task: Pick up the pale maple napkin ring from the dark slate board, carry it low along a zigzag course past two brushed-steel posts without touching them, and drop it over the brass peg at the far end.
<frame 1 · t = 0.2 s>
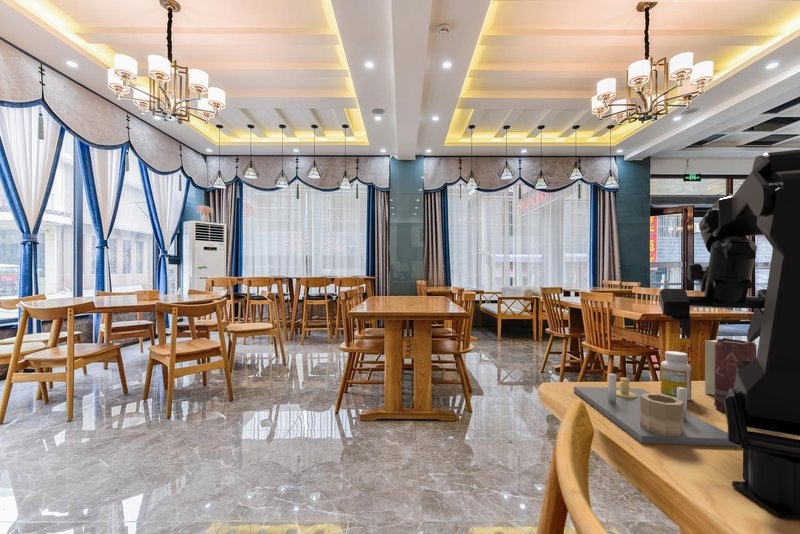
hand: (717, 338, 71), 15 cm above the table, tool tilted 30°, fingers open, 9 cm apart
skincare box: (724, 396, 83), on the table
supplement bottle: (675, 397, 81), on the table
slate board: (641, 414, 71), on the table
can: (735, 412, 73), on the table
napkin ring: (661, 428, 61), point 1 cm above the table, touching slate board
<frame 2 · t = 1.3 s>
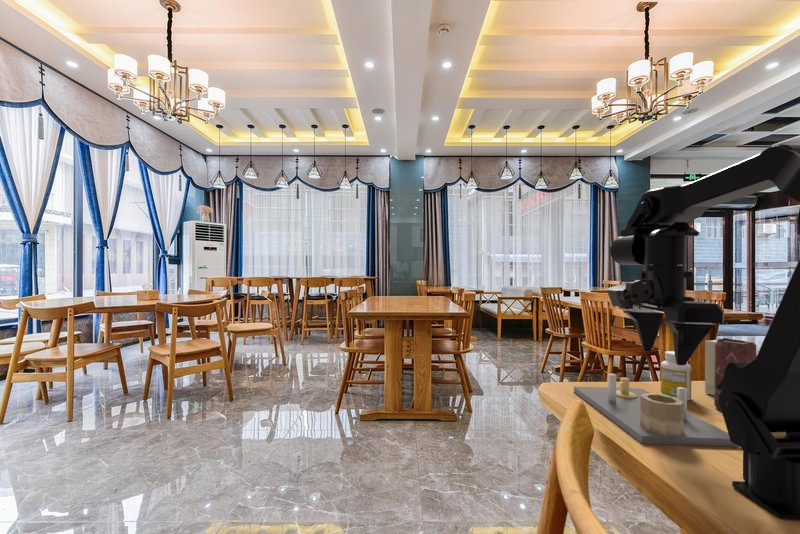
hand: (662, 357, 62), 13 cm above the table, tool pointing down, fingers open, 9 cm apart
nothing on the table moved.
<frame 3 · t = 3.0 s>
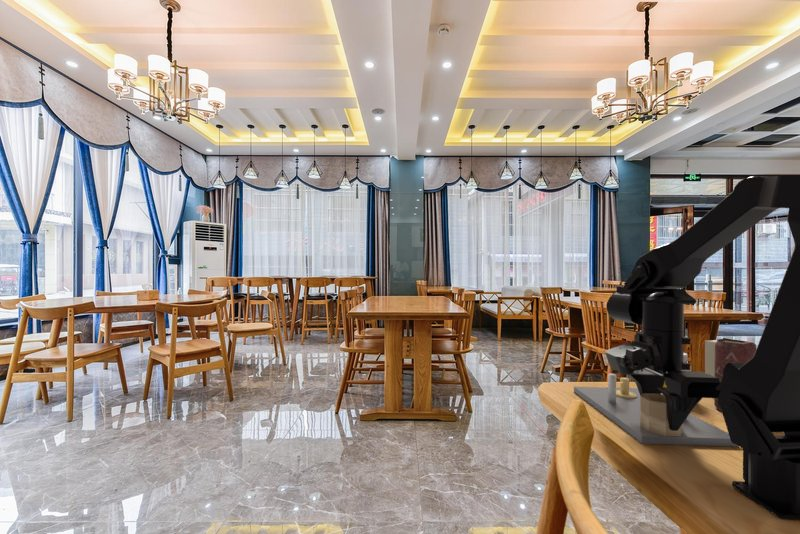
hand: (661, 422, 61), 2 cm above the table, tool pointing down, fingers closed on napkin ring, 5 cm apart
napkin ring: (661, 428, 61), point 1 cm above the table, touching gripper, slate board
everything else where it was.
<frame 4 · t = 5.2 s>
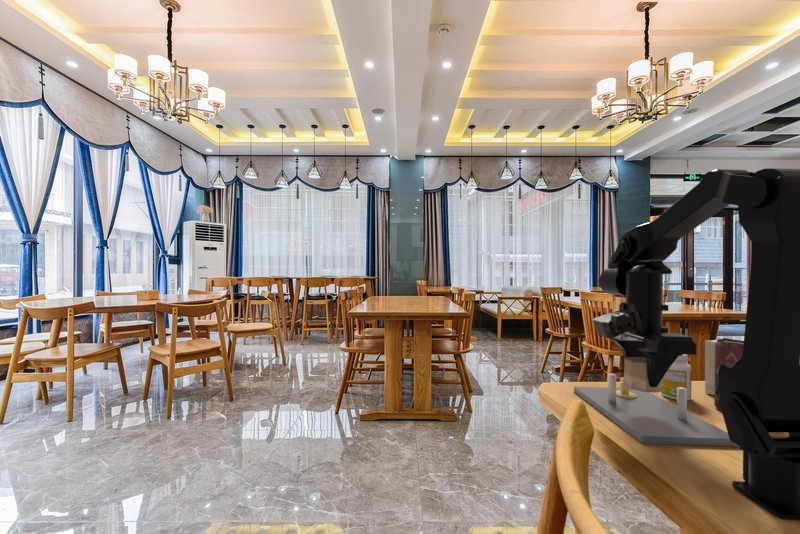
hand: (642, 382, 68), 7 cm above the table, tool pointing down, fingers closed on napkin ring, 5 cm apart
napkin ring: (642, 387, 68), point 6 cm above the table, touching gripper
everything else where it was.
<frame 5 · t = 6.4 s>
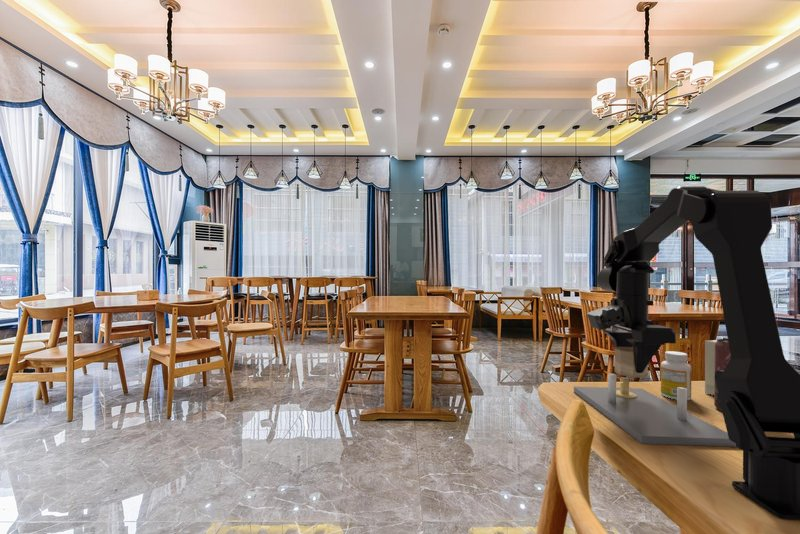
hand: (630, 368, 77), 7 cm above the table, tool pointing down, fingers closed on napkin ring, 5 cm apart
napkin ring: (630, 373, 77), point 6 cm above the table, touching gripper
everything else where it was.
when the fingers open (4 cm above the table, at t = 7.4 s): napkin ring drops 2 cm, resting on slate board.
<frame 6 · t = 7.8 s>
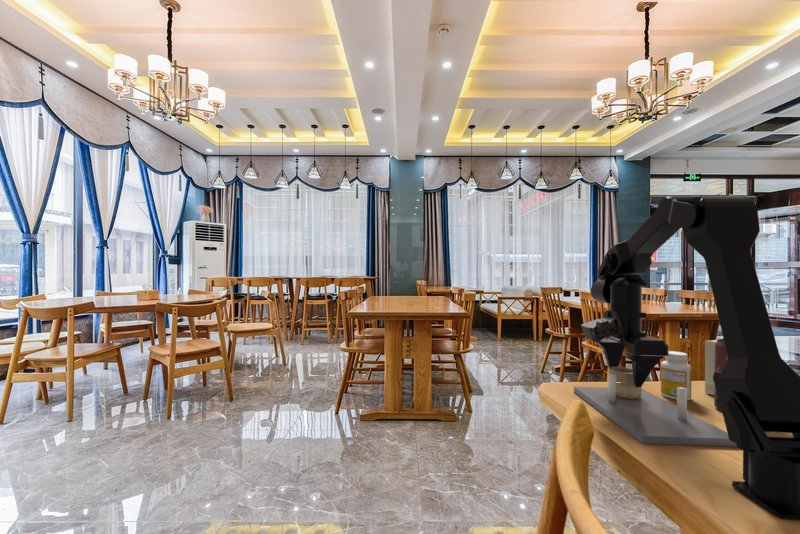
hand: (624, 380, 78), 4 cm above the table, tool pointing down, fingers open, 9 cm apart
napkin ring: (624, 393, 78), point 1 cm above the table, touching slate board
everything else where it was.
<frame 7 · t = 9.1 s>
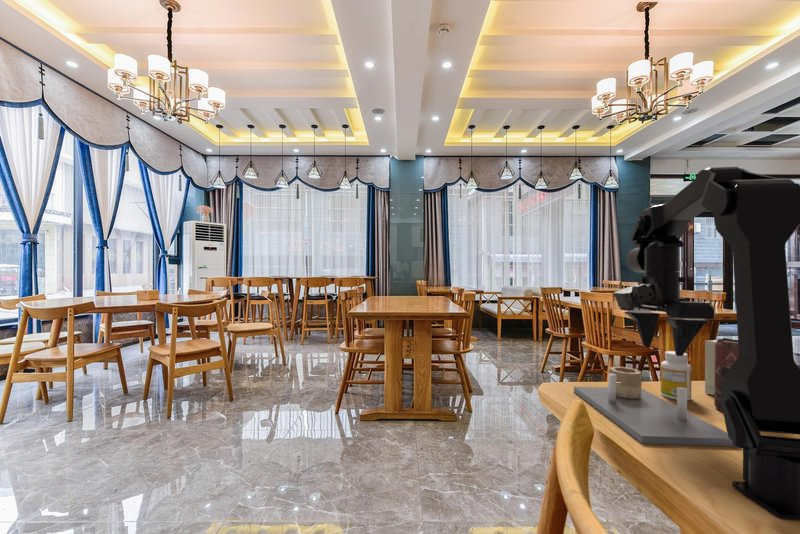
hand: (662, 350, 72), 12 cm above the table, tool pointing down, fingers open, 9 cm apart
nothing on the table moved.
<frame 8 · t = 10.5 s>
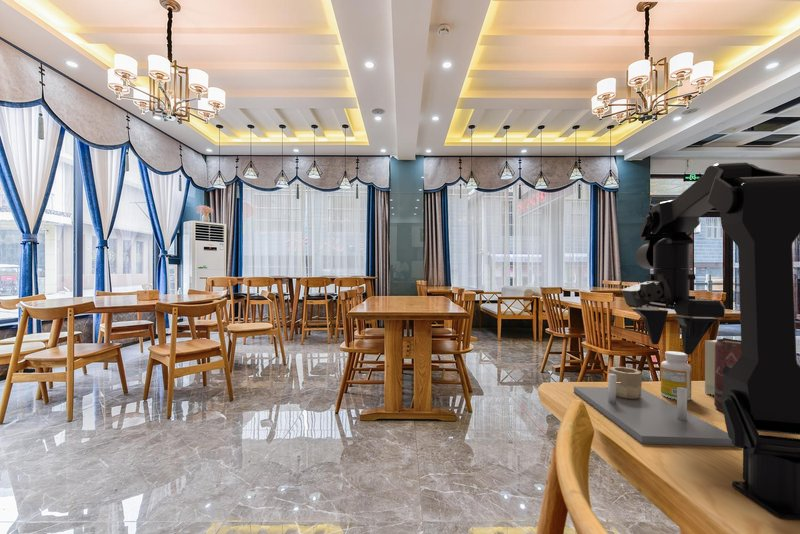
hand: (670, 348, 72), 12 cm above the table, tool pointing down, fingers open, 9 cm apart
nothing on the table moved.
at the end: napkin ring 0.1 cm from the target spot on the slate board, point 1.5 cm above the slate board's base; the gripper is holding nothing; napkin ring tilted 0° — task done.
